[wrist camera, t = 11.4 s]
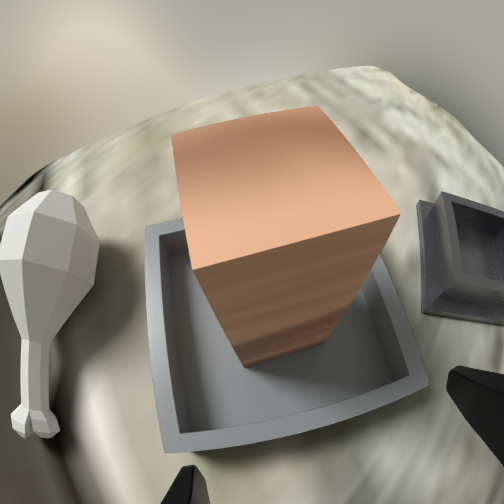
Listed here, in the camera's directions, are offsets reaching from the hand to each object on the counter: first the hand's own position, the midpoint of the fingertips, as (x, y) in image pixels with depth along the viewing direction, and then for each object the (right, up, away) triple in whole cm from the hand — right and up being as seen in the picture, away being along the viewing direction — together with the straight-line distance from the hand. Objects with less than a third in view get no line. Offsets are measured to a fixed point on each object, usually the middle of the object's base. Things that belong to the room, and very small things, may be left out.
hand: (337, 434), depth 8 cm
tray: (-1, +1, +11) cm, 11 cm away
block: (-1, +2, +10) cm, 10 cm away
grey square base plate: (+15, +5, +12) cm, 20 cm away
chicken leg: (-17, -1, +11) cm, 21 cm away
